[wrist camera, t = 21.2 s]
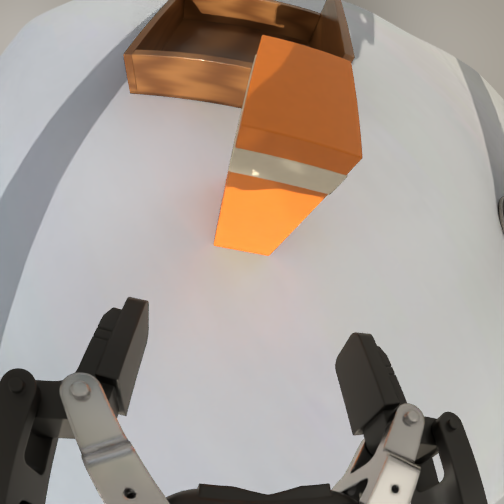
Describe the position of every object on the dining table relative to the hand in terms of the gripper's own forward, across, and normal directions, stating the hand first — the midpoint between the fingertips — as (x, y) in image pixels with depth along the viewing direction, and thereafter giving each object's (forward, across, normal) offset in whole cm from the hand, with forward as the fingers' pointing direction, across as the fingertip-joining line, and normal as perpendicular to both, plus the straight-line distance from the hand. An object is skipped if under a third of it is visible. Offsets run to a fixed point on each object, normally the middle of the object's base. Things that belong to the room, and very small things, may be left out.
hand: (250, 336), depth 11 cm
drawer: (+25, +4, -13) cm, 28 cm away
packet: (+12, 0, 0) cm, 12 cm away
